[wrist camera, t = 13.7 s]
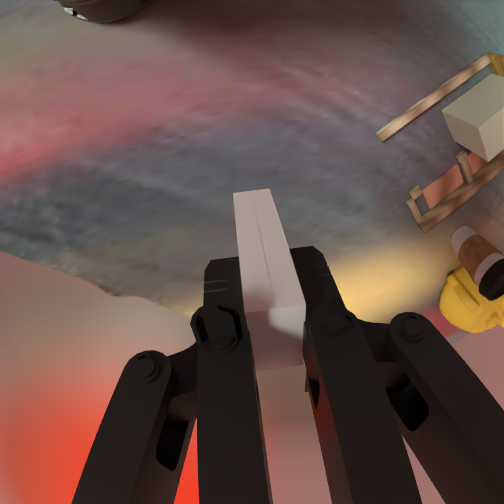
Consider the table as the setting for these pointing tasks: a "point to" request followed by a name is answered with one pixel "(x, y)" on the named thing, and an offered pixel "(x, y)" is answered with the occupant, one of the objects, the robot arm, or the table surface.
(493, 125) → the brick
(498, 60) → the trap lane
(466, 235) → the coffee cup
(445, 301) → the teapot
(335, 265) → the table surface
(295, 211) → the table surface
